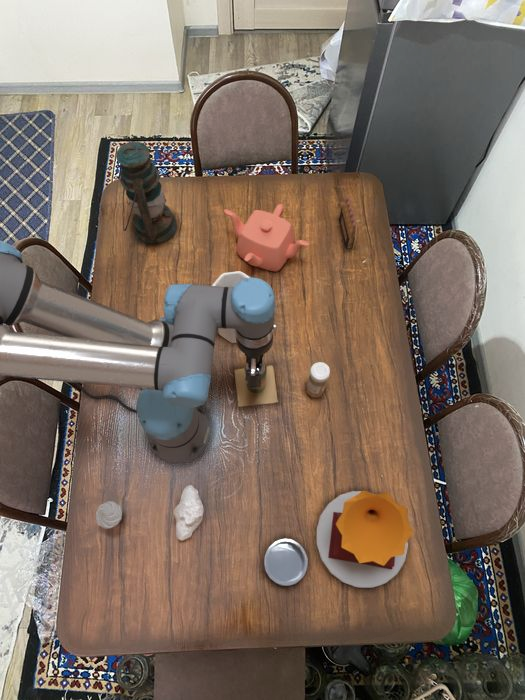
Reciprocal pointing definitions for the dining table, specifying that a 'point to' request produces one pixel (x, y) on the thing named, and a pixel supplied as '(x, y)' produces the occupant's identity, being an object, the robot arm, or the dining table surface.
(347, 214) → the bullet clip
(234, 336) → the cup
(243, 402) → the coaster
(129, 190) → the lantern
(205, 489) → the dining table surface
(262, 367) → the green can
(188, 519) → the white rock
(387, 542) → the gramophone
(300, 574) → the grey cylinder
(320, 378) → the sprinkles bottle
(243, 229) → the pot
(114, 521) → the ice cream cone
